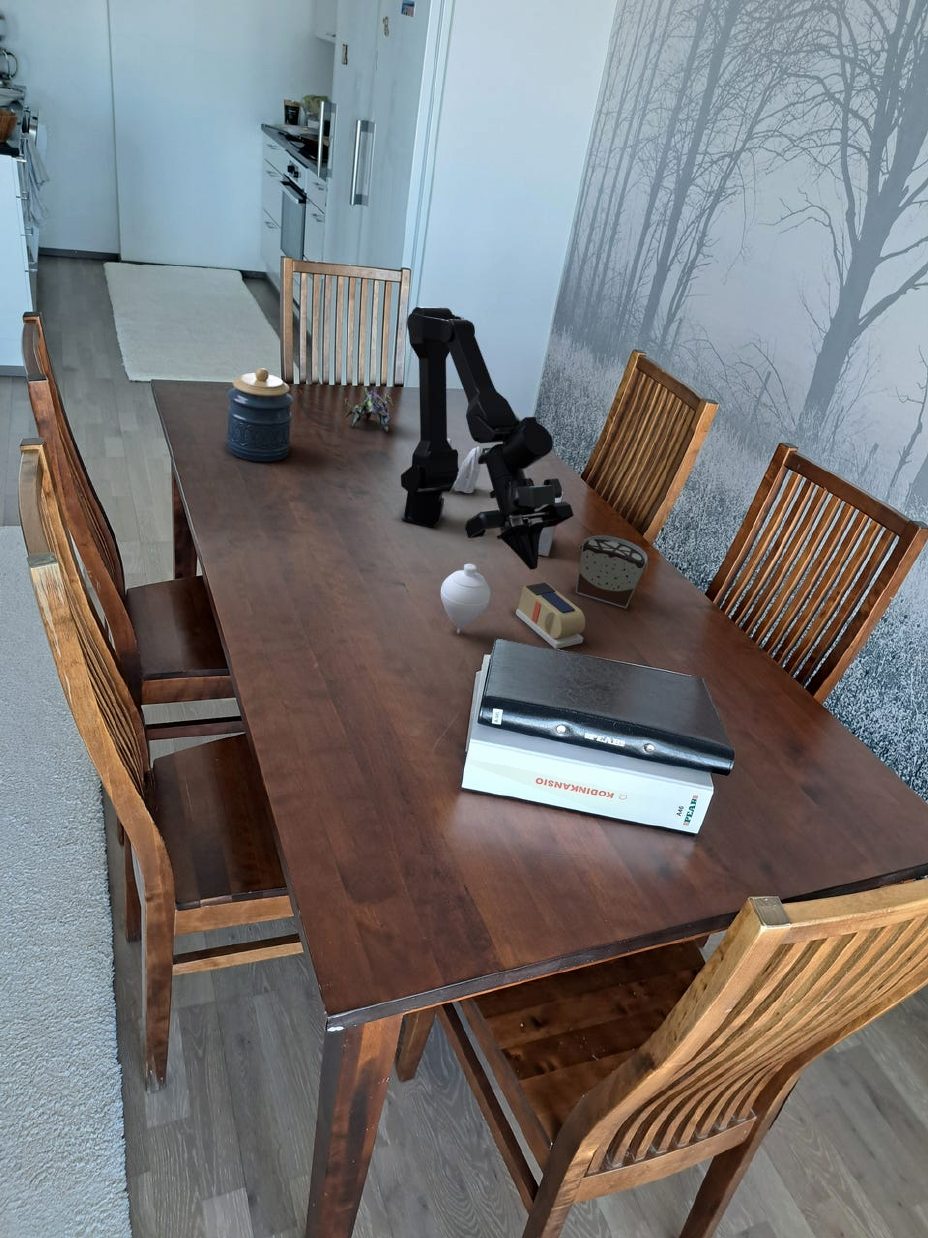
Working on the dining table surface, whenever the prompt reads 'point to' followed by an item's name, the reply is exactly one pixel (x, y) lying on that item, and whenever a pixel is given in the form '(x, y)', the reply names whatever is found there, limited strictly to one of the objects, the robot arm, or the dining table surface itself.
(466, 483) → the shaker set
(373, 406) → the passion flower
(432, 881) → the dining table surface
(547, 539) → the small box
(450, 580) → the spinning top
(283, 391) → the canister
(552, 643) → the cream two-tone block
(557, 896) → the dining table surface
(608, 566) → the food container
